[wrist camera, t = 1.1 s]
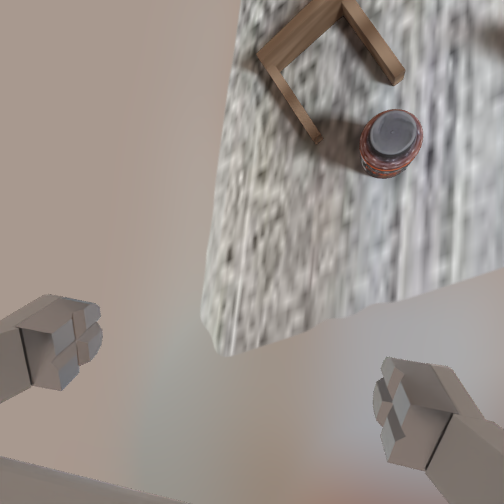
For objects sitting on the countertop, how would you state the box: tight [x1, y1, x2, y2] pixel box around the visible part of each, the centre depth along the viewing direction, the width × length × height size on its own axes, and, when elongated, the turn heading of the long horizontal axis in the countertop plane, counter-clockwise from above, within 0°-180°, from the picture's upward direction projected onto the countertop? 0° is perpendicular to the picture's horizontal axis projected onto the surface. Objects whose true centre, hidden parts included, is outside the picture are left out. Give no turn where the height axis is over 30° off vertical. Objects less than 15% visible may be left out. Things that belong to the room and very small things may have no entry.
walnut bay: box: [256, 0, 405, 144], centre depth 37 cm, size 13×12×5 cm
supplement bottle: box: [360, 109, 423, 179], centre depth 33 cm, size 6×6×11 cm
